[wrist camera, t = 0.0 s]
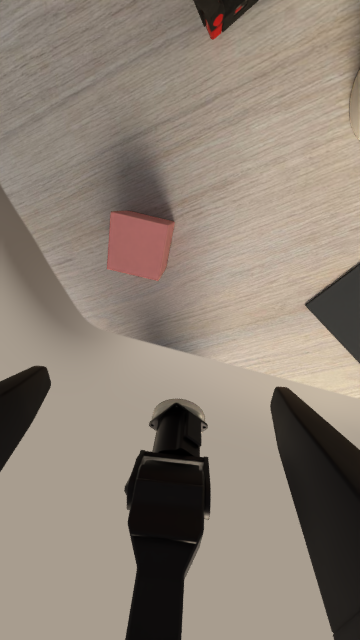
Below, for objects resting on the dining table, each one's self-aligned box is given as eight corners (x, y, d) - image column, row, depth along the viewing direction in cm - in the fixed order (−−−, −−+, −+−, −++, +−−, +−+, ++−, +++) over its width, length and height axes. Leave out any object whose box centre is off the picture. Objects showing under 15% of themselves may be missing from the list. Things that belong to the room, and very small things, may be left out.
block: (166, 268, 26) (158, 281, 22) (122, 258, 26) (106, 269, 22) (174, 221, 24) (168, 225, 19) (127, 210, 24) (110, 211, 19)
